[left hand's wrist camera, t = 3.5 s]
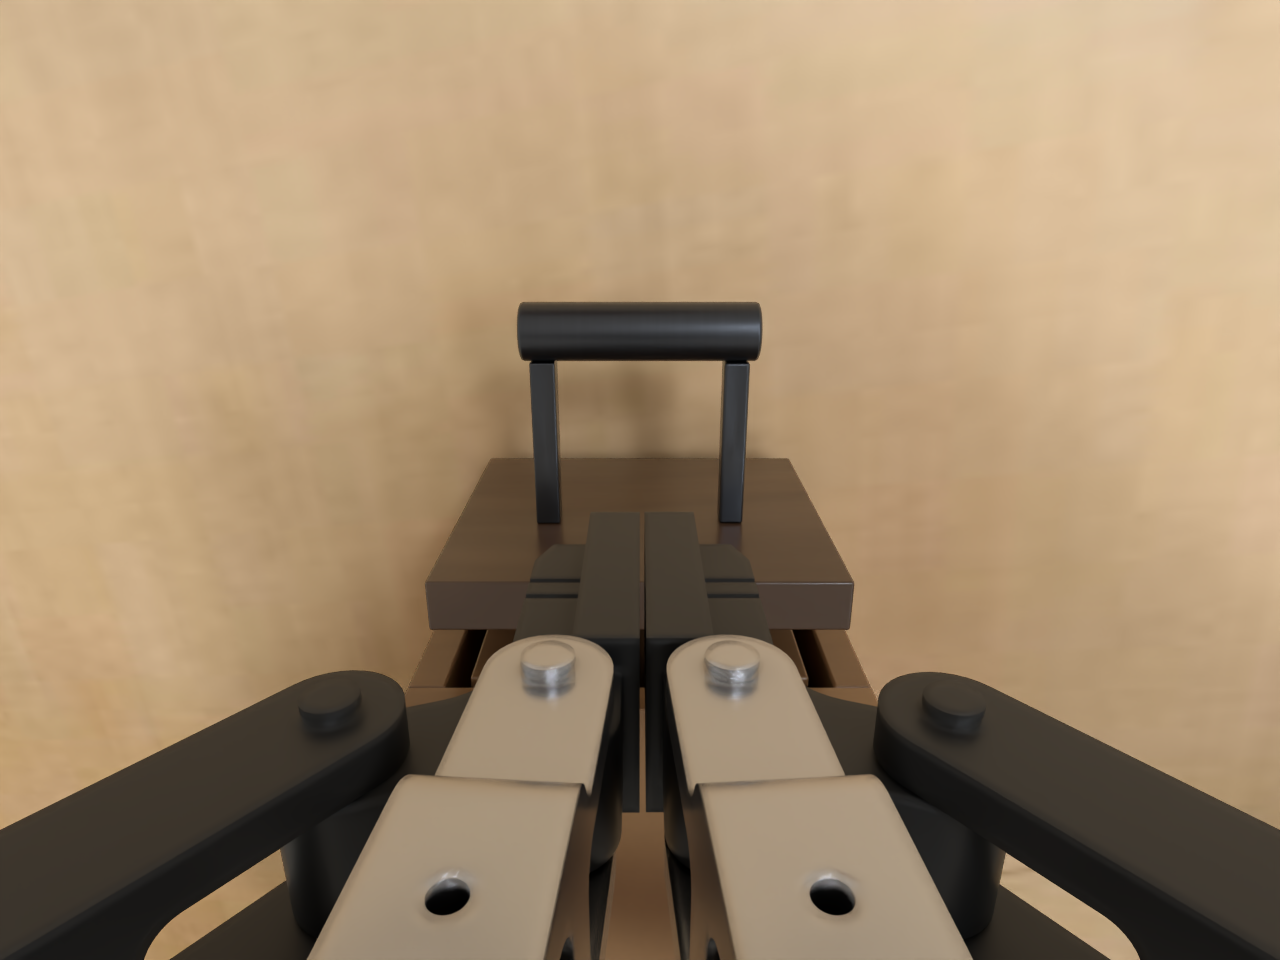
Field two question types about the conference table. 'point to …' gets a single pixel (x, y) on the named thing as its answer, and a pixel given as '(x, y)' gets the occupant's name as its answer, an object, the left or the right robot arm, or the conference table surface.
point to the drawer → (638, 481)
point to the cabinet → (640, 890)
